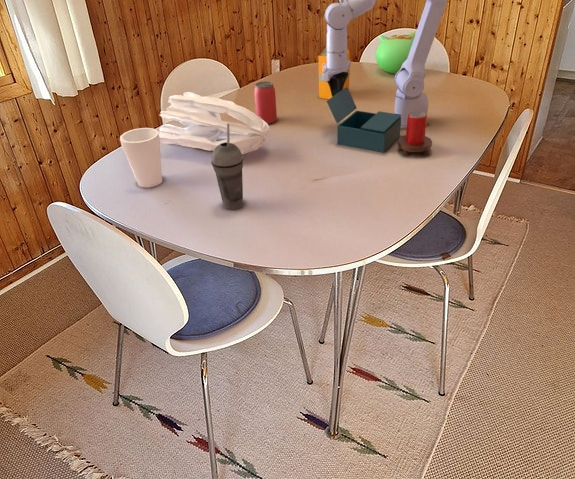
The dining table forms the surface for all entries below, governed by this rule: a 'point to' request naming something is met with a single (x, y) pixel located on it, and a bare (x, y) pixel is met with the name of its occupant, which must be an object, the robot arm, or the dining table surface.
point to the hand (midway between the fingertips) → (336, 98)
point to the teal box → (369, 130)
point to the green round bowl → (393, 51)
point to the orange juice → (324, 86)
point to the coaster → (414, 148)
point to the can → (416, 127)
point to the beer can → (265, 101)
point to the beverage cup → (229, 173)
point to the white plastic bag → (210, 123)
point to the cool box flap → (341, 104)
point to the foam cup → (143, 155)
